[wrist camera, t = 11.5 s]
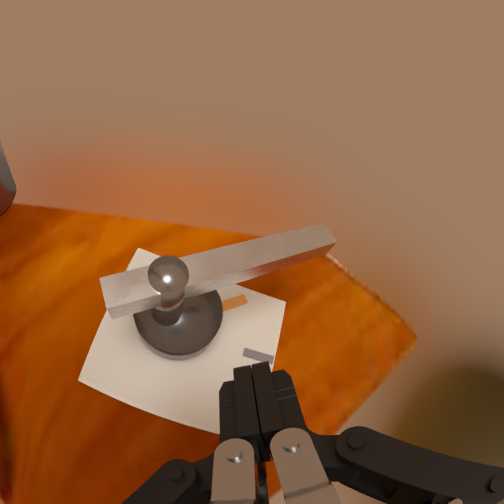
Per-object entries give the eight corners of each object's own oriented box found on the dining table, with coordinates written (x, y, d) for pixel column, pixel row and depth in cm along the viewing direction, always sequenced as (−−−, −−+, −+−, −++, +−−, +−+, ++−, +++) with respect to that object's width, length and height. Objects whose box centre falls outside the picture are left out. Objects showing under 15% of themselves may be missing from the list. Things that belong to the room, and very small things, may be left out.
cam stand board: (80, 381, 23) (77, 379, 22) (138, 251, 34) (138, 246, 33) (252, 441, 26) (256, 442, 25) (283, 304, 36) (286, 301, 35)
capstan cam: (136, 375, 25) (119, 353, 15) (112, 298, 28) (92, 238, 19) (302, 314, 34) (356, 269, 25) (270, 255, 38) (309, 196, 28)
